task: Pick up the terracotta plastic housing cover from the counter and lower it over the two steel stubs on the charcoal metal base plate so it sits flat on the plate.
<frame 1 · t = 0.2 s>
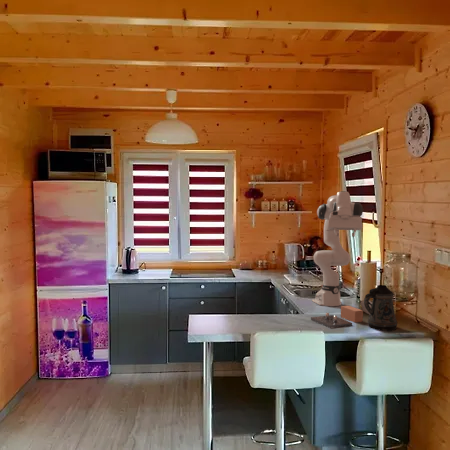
hand: (345, 236, 278), 54 cm above the table, tool tilted 30°, fingers open, 8 cm apart
beer stein: (380, 328, 276), on the table
base plate: (331, 322, 286), on the table
housing: (351, 319, 295), on the table
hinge: (369, 314, 310), on the table
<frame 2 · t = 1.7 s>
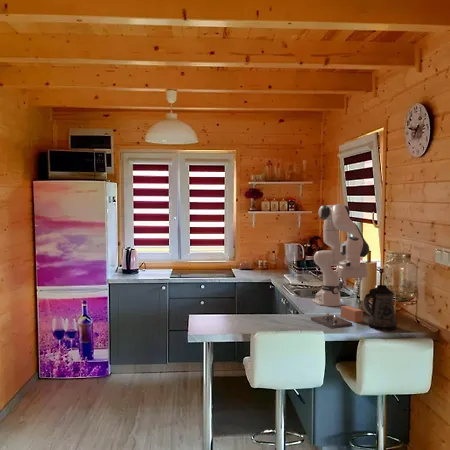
hand: (352, 284, 293), 22 cm above the table, tool pointing down, fingers open, 8 cm apart
nothing on the table moved.
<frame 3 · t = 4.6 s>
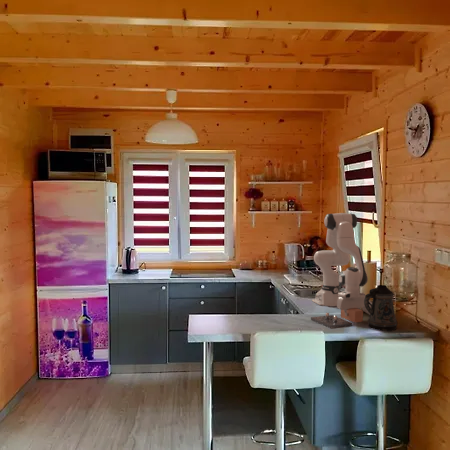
hand: (351, 315, 294), 3 cm above the table, tool pointing down, fingers closed on housing, 6 cm apart
housing: (351, 319, 295), on the table, touching gripper
everything else where it was.
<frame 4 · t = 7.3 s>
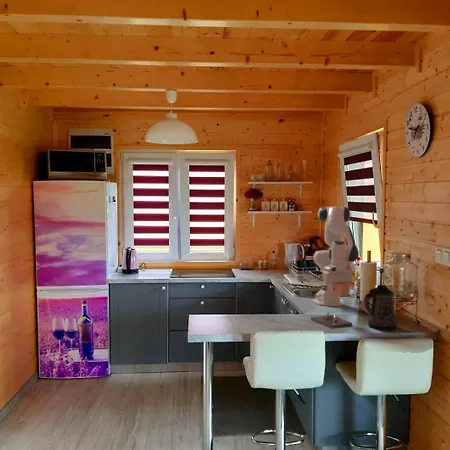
hand: (337, 290, 287), 20 cm above the table, tool pointing down, fingers closed on housing, 6 cm apart
housing: (337, 294, 287), point 17 cm above the table, touching gripper
everything else where it was.
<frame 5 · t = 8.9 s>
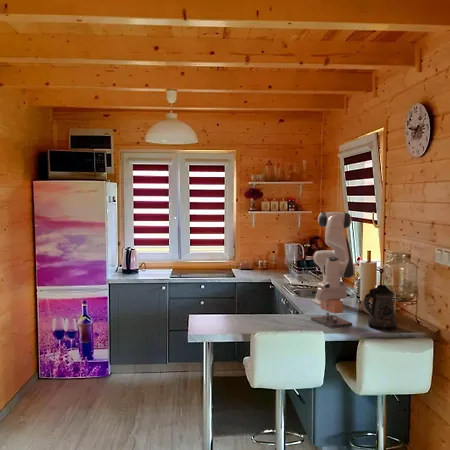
hand: (331, 306, 285), 10 cm above the table, tool pointing down, fingers closed on housing, 6 cm apart
housing: (331, 310, 285), point 7 cm above the table, touching gripper
everything else where it was.
when the fingers open (5 cm above the table, at t = 10.4 s): housing stays where it is, resting on base plate.
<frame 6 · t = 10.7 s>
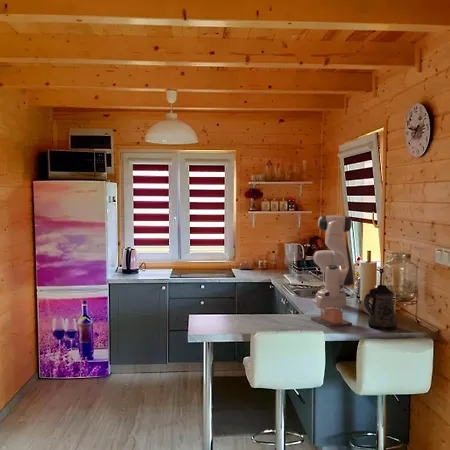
hand: (331, 314, 286), 5 cm above the table, tool pointing down, fingers open, 8 cm apart
housing: (331, 320, 286), point 1 cm above the table, touching base plate
everything else where it was.
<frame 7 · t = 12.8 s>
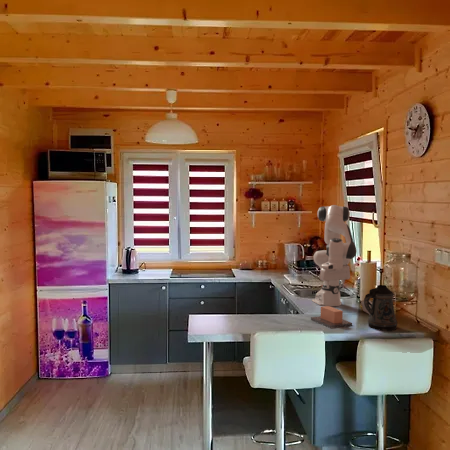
hand: (334, 287, 288), 21 cm above the table, tool pointing down, fingers open, 8 cm apart
nothing on the table moved.
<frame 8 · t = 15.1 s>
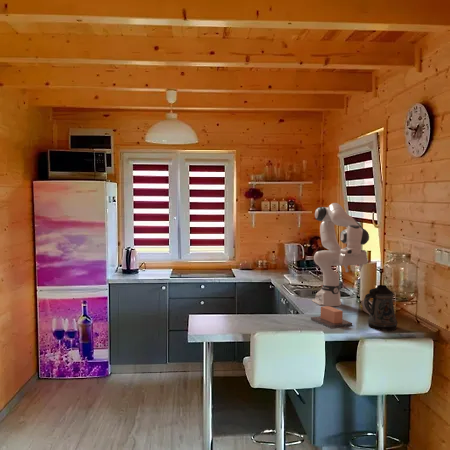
hand: (353, 271, 300), 29 cm above the table, tool pointing down, fingers open, 8 cm apart
nothing on the table moved.
at the end: housing 0.0 cm off-centre on the base plate, point 1.5 cm above the base plate's base; housing tilted 0°; the gripper is holding nothing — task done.
